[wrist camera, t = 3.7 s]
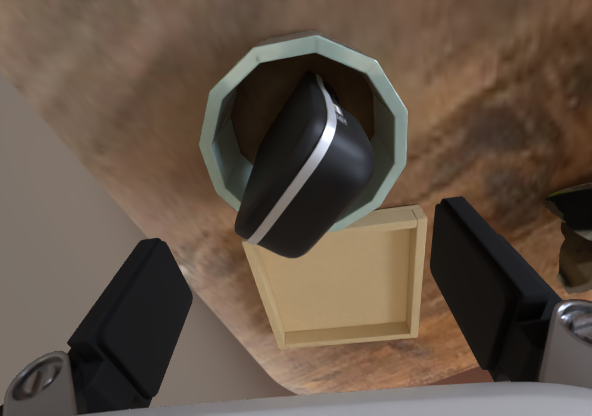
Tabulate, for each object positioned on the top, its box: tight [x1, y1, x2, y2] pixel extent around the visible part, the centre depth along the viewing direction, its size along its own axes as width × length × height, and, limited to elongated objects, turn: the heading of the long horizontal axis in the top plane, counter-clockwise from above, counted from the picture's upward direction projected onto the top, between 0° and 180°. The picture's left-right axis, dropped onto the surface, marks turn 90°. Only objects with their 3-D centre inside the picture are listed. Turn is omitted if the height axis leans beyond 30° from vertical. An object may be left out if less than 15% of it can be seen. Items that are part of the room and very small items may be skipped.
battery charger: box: [235, 71, 375, 258], centre depth 17 cm, size 7×4×11 cm, turn 147°
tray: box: [242, 205, 427, 349], centre depth 29 cm, size 15×16×2 cm
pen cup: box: [199, 30, 408, 232], centre depth 19 cm, size 11×11×6 cm
